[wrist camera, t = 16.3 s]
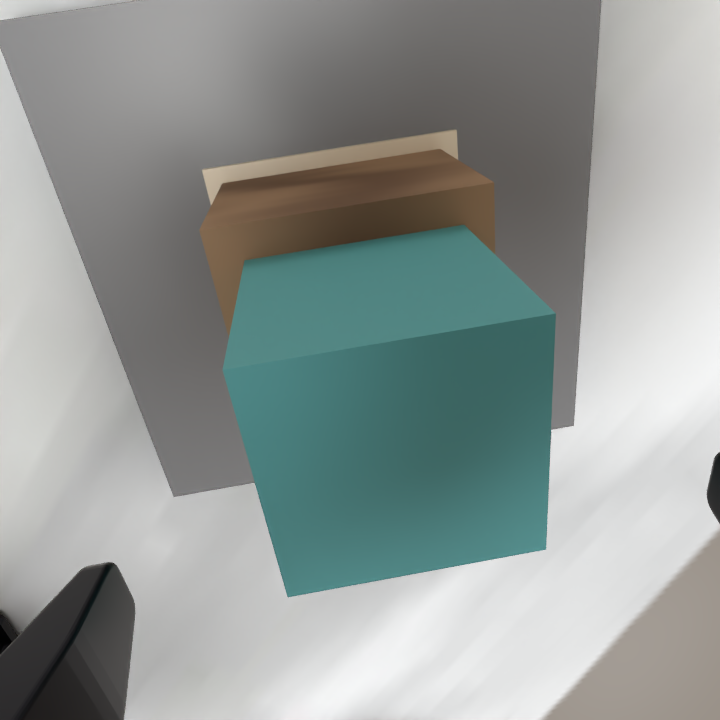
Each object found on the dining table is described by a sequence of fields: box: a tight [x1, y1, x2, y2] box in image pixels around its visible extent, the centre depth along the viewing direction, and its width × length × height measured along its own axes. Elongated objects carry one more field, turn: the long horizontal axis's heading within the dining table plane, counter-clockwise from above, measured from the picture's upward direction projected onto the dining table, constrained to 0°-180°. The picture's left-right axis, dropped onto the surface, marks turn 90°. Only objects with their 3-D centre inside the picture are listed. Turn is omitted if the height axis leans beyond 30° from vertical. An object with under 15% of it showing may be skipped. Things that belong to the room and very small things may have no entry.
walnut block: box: [199, 149, 495, 337], centre depth 16 cm, size 6×6×5 cm
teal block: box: [223, 225, 556, 597], centre depth 12 cm, size 5×5×5 cm
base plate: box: [0, 0, 601, 497], centre depth 19 cm, size 16×16×2 cm
